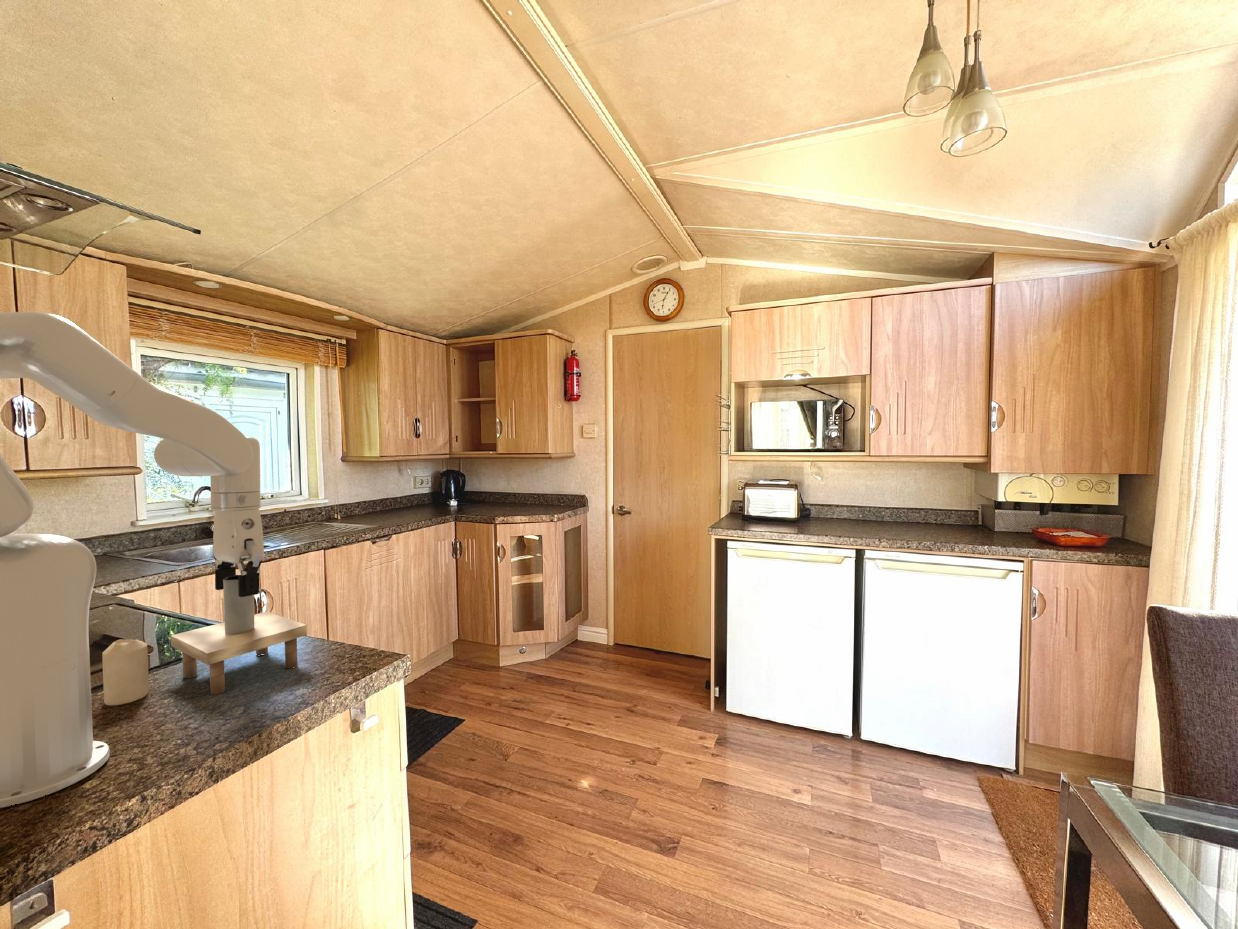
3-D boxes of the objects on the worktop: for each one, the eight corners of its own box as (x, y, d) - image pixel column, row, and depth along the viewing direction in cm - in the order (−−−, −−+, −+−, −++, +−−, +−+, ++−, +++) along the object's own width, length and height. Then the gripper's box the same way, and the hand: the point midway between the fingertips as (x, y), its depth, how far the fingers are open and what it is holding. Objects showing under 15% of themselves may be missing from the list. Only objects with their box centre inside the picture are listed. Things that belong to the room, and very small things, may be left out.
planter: (247, 624, 100) (246, 572, 99) (259, 628, 97) (257, 575, 97) (220, 632, 96) (218, 577, 95) (231, 636, 93) (229, 581, 93)
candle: (157, 690, 90) (155, 634, 89) (128, 705, 84) (126, 646, 84) (125, 690, 89) (123, 634, 89) (94, 706, 84) (92, 647, 84)
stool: (208, 700, 86) (207, 653, 86) (172, 678, 94) (170, 635, 94) (307, 665, 99) (306, 625, 99) (268, 648, 108) (267, 611, 108)
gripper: (280, 502, 94) (281, 593, 94) (238, 498, 103) (239, 582, 104) (233, 505, 88) (234, 603, 88) (192, 501, 97) (193, 590, 97)
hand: (237, 591), depth 96 cm, fingers open, 9 cm apart
